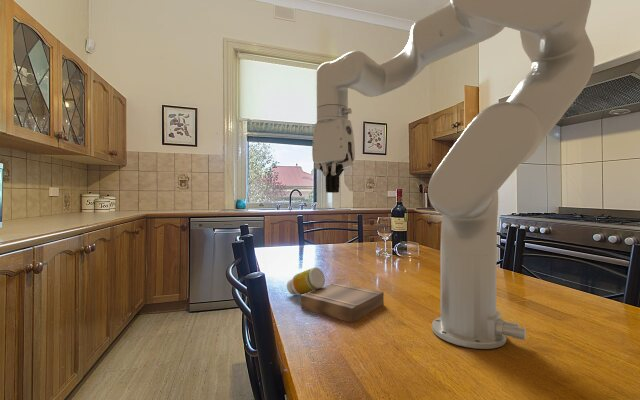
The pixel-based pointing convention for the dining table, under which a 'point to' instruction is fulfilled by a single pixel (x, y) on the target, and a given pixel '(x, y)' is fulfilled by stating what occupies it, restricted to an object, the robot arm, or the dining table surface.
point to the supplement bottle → (306, 281)
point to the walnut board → (342, 301)
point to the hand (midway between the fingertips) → (332, 192)
